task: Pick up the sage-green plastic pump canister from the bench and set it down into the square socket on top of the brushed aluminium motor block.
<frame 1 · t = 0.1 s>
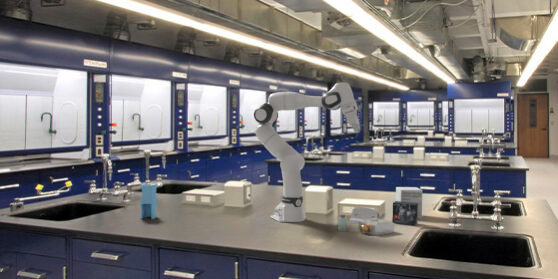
hand: (357, 132, 255), 52 cm above the worktop, tool tilted 20°, fingers open, 8 cm apart
hinge: (364, 223, 261), on the worktop
small box: (404, 223, 261), on the worktop
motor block: (376, 231, 240), on the worktop
blue tower block: (149, 218, 272), on the worktop
pump canister: (342, 230, 243), on the worktop
supplement box: (408, 216, 280), on the worktop
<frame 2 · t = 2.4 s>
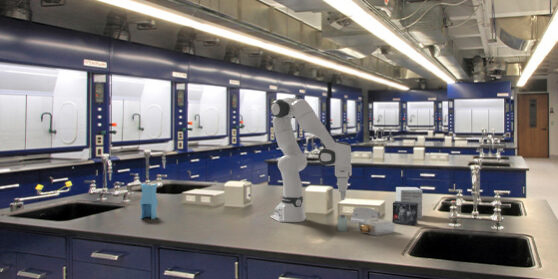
hand: (343, 198, 242), 17 cm above the worktop, tool pointing down, fingers open, 8 cm apart
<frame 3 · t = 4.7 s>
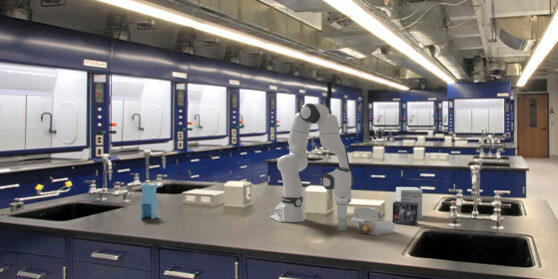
hand: (342, 224, 243), 3 cm above the worktop, tool pointing down, fingers closed on pump canister, 5 cm apart
pump canister: (342, 230, 243), on the worktop, touching gripper
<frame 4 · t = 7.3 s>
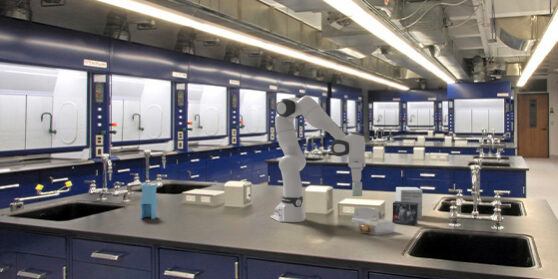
hand: (357, 189, 240), 22 cm above the worktop, tool pointing down, fingers closed on pump canister, 5 cm apart
pump canister: (357, 195, 240), point 19 cm above the worktop, touching gripper
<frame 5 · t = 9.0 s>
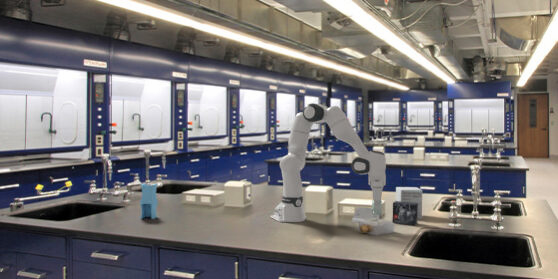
hand: (376, 207, 240), 13 cm above the worktop, tool pointing down, fingers closed on pump canister, 5 cm apart
pump canister: (376, 214, 240), point 9 cm above the worktop, touching gripper
when the fingers open (9 cm above the worktop, at t = 10.5 s): pump canister stays where it is, resting on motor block.
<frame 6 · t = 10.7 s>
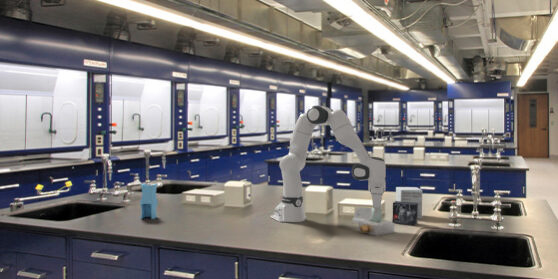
hand: (376, 214, 240), 9 cm above the worktop, tool pointing down, fingers open, 7 cm apart
pump canister: (376, 222, 240), point 5 cm above the worktop, touching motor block
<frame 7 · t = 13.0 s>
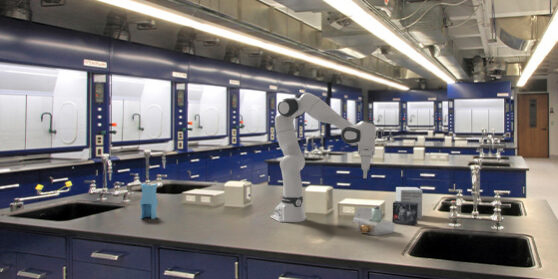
hand: (365, 177, 243), 28 cm above the worktop, tool pointing down, fingers open, 8 cm apart
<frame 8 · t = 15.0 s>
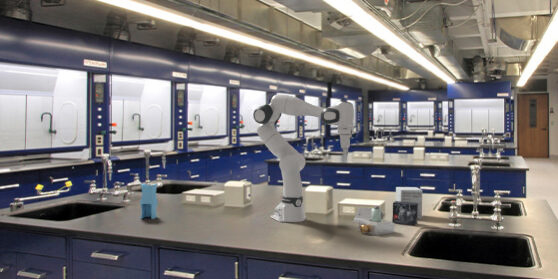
hand: (345, 156, 249), 39 cm above the worktop, tool pointing down, fingers open, 8 cm apart
at the end: pump canister 0.1 cm off-centre on the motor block, point 5.0 cm above the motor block's base; pump canister tilted 1°; the gripper is holding nothing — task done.
